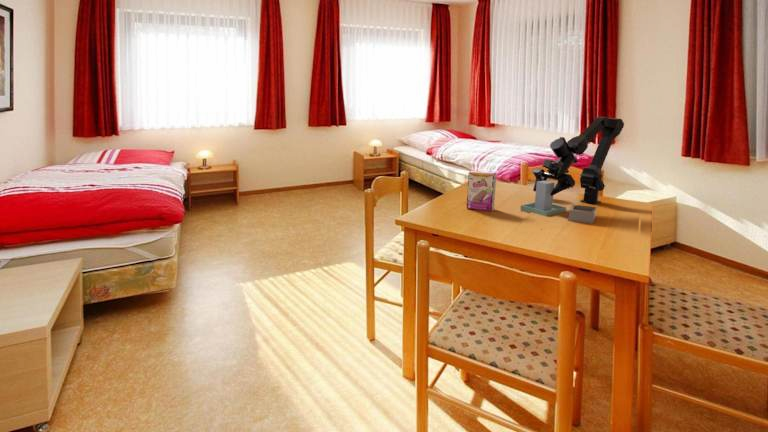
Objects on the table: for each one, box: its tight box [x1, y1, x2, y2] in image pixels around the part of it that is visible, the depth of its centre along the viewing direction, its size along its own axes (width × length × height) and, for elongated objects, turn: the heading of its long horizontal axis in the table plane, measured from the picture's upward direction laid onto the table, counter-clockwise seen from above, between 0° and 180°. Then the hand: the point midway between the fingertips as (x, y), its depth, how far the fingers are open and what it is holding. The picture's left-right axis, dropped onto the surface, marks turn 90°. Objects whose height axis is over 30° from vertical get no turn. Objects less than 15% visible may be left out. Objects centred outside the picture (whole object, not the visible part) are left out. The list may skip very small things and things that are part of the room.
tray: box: [520, 201, 567, 217], centre depth 198 cm, size 13×13×2 cm
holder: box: [567, 204, 597, 224], centre depth 184 cm, size 9×9×5 cm
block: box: [534, 180, 555, 211], centre depth 196 cm, size 5×5×12 cm
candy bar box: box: [466, 170, 497, 212], centre depth 200 cm, size 11×5×16 cm, turn 65°
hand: (542, 193), depth 195 cm, fingers open, 9 cm apart
